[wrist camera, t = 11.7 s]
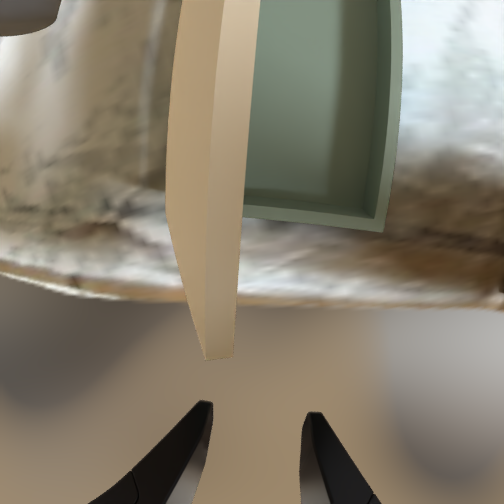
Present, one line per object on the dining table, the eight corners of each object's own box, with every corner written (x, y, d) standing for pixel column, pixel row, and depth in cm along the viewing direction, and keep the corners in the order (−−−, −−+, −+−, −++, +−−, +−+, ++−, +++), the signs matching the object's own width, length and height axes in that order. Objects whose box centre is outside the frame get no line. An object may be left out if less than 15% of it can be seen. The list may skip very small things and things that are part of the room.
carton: (376, -63, 9) (388, -83, 6) (366, 217, 16) (383, 232, 14) (224, -80, 9) (217, -102, 7) (192, 199, 17) (177, 211, 14)
